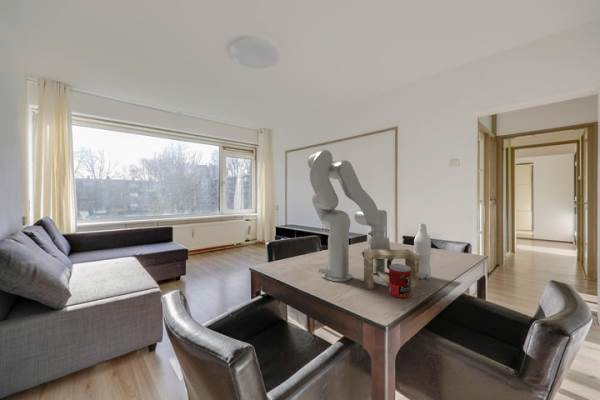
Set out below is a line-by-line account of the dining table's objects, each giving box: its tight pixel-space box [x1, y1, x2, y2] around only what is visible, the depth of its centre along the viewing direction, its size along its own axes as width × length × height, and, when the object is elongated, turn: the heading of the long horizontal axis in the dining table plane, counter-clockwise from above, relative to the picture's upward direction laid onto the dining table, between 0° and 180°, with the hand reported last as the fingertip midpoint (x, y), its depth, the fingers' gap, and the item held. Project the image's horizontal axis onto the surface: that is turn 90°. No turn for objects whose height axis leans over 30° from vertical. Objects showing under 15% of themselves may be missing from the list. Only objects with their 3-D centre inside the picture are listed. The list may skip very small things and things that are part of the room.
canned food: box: [388, 263, 412, 300], centre depth 95 cm, size 8×8×11 cm
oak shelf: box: [363, 249, 420, 290], centre depth 106 cm, size 20×10×14 cm, turn 89°
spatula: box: [373, 259, 389, 287], centre depth 114 cm, size 4×20×7 cm, turn 179°
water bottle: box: [413, 223, 432, 280], centre depth 115 cm, size 7×7×25 cm
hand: (378, 269), depth 122 cm, fingers open, 9 cm apart
